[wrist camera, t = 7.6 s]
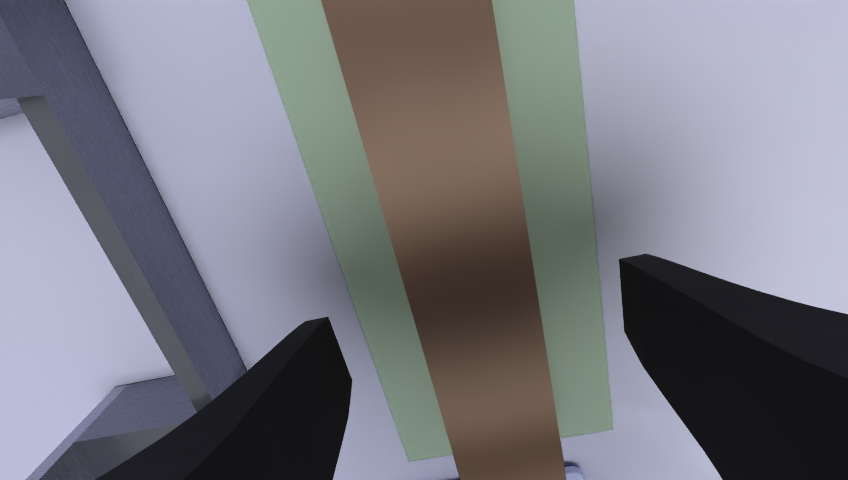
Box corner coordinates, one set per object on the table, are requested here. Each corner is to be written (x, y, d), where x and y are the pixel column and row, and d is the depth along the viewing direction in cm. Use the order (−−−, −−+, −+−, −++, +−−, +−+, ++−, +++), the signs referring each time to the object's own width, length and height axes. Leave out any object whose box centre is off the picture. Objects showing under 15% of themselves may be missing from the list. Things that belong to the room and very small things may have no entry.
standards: (281, 441, 19) (221, 593, 14) (163, 460, 20) (61, 613, 15) (24, -78, 12) (-325, -194, 6) (-151, -20, 13) (-608, -81, 7)
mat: (609, 422, 19) (613, 429, 18) (408, 453, 20) (408, 461, 19) (555, -147, 11) (559, -154, 11) (234, -50, 12) (228, -53, 12)
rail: (546, 422, 18) (571, 503, 15) (463, 436, 19) (469, 518, 15) (462, -76, 11) (474, -131, 8) (334, -40, 12) (295, -77, 9)
